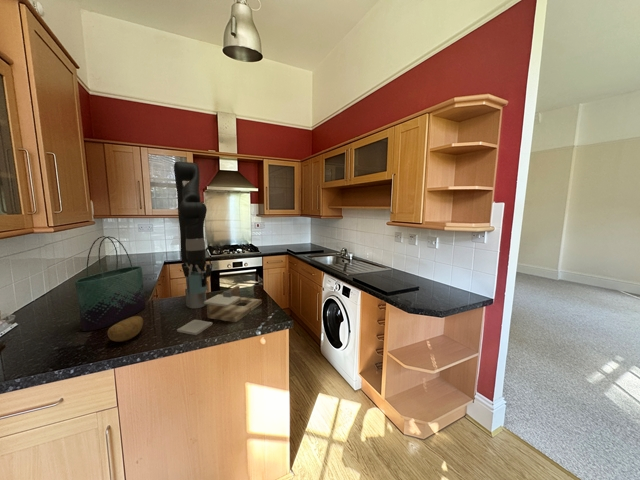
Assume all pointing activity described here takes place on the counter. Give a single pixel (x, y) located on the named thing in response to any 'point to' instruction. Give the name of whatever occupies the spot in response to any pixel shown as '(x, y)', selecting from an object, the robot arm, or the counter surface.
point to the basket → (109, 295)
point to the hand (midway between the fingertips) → (198, 286)
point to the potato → (125, 329)
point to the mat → (194, 327)
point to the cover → (223, 299)
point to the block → (196, 283)
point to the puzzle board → (233, 308)
